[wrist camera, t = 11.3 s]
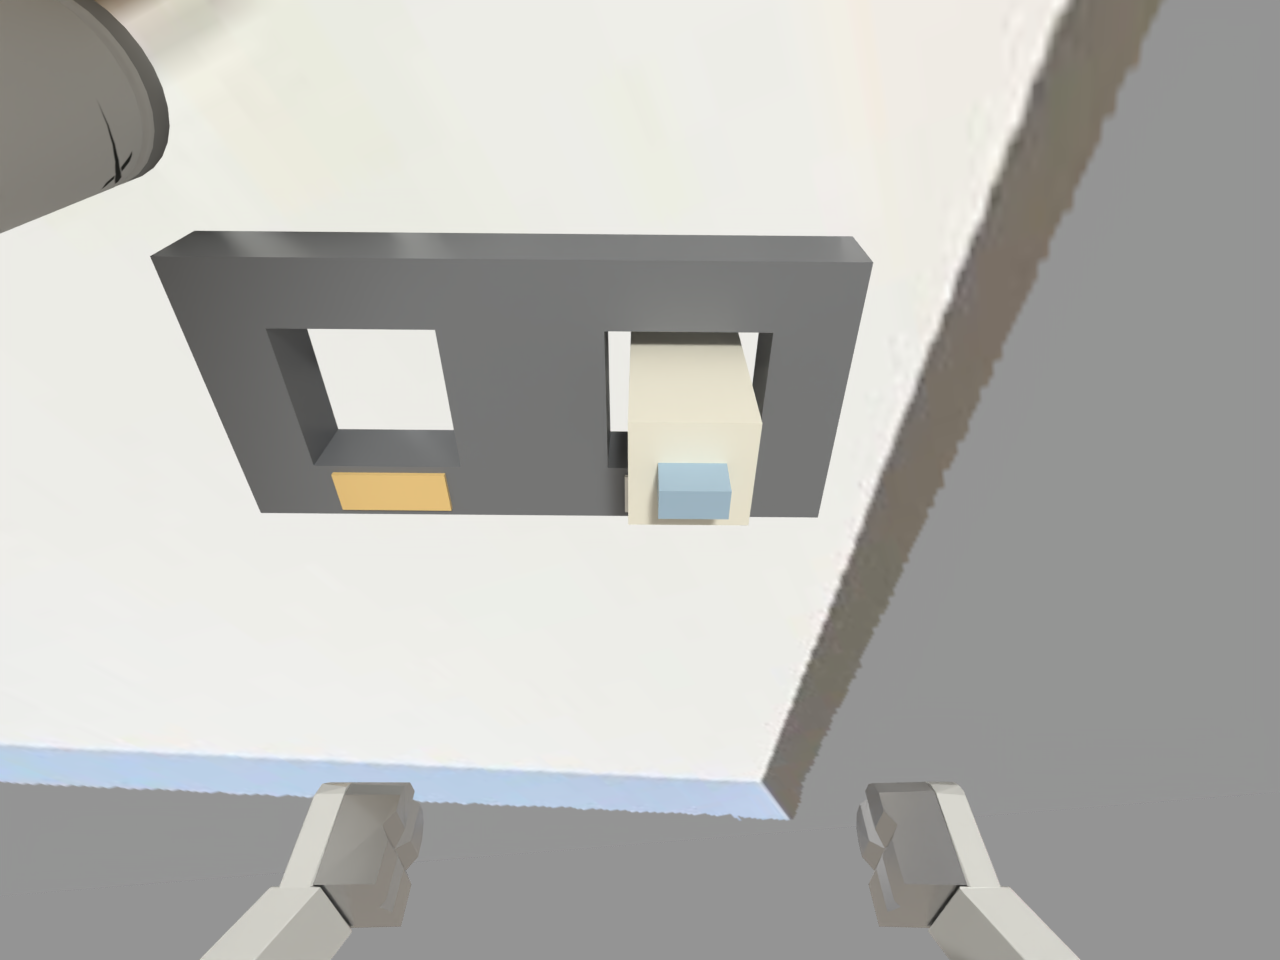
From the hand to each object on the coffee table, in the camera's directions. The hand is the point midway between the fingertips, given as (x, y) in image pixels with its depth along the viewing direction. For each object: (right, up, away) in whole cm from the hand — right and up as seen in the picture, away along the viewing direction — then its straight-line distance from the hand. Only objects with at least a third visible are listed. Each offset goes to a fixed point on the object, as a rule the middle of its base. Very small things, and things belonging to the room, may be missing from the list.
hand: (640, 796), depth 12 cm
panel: (-5, +11, +18) cm, 22 cm away
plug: (+2, +11, +18) cm, 21 cm away
